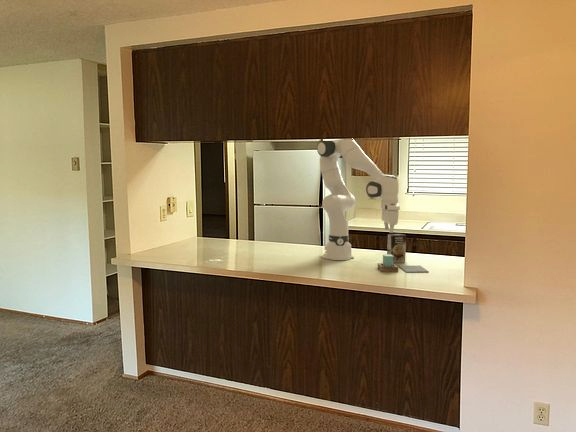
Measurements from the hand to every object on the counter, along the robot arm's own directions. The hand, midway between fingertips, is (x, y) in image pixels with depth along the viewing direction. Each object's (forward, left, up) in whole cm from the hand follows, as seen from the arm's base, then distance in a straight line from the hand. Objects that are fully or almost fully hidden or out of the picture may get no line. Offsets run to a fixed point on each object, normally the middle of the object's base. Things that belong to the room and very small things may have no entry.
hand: (388, 231), depth 262 cm
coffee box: (-20, +10, -21) cm, 31 cm away
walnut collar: (0, 0, -21) cm, 21 cm away
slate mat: (0, +14, -21) cm, 25 cm away
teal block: (0, 0, -21) cm, 21 cm away
